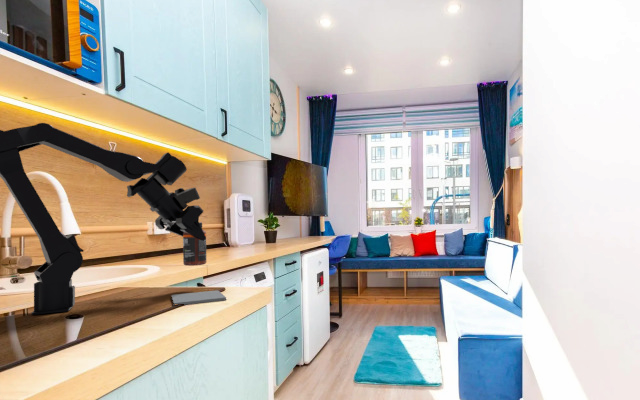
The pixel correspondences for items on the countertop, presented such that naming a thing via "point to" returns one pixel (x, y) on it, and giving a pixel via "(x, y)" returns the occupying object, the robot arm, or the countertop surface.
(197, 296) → the charcoal mat
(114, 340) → the countertop surface
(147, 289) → the countertop surface
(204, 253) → the supplement bottle
